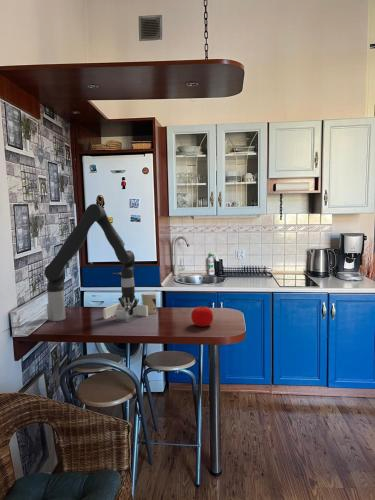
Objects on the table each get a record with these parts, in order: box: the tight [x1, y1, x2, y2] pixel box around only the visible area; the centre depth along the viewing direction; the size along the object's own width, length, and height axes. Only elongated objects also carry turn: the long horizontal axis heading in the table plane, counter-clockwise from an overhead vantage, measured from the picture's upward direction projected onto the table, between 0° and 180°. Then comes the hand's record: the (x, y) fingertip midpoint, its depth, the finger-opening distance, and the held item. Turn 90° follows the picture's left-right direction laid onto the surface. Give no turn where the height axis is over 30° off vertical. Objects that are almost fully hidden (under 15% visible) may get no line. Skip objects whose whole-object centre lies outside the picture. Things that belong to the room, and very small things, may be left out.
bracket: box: [115, 308, 137, 320], centre depth 218 cm, size 10×7×5 cm
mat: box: [113, 315, 140, 324], centre depth 217 cm, size 10×12×1 cm
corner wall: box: [102, 302, 149, 320], centre depth 220 cm, size 21×15×6 cm
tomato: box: [190, 305, 214, 328], centre depth 200 cm, size 12×12×10 cm
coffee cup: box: [140, 291, 157, 315], centre depth 229 cm, size 9×9×12 cm
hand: (129, 314), depth 217 cm, fingers closed on bracket, 2 cm apart
